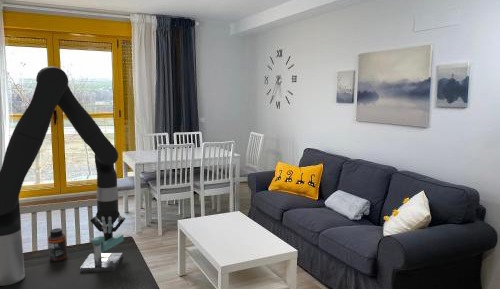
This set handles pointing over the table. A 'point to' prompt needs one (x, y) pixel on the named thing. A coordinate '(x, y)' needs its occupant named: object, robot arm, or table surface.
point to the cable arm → (107, 242)
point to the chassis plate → (101, 261)
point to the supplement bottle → (57, 245)
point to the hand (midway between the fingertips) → (108, 241)
